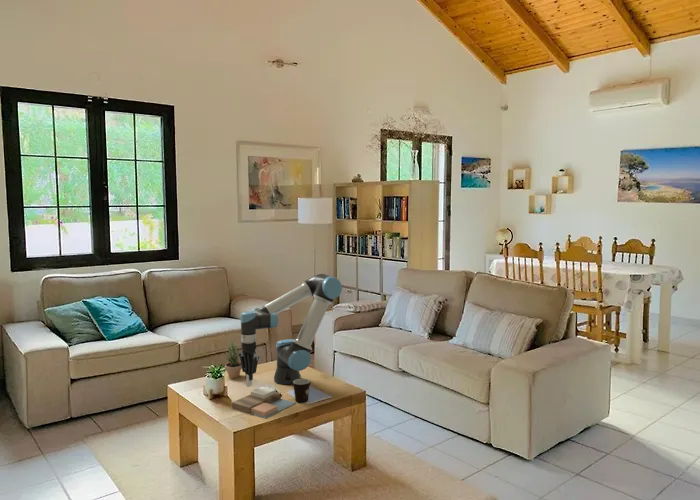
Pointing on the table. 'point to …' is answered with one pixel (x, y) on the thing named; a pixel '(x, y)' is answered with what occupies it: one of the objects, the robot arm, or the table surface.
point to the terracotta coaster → (264, 409)
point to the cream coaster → (263, 392)
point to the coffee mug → (301, 390)
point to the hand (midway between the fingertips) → (249, 385)
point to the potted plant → (233, 361)
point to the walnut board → (253, 402)
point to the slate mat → (278, 407)
